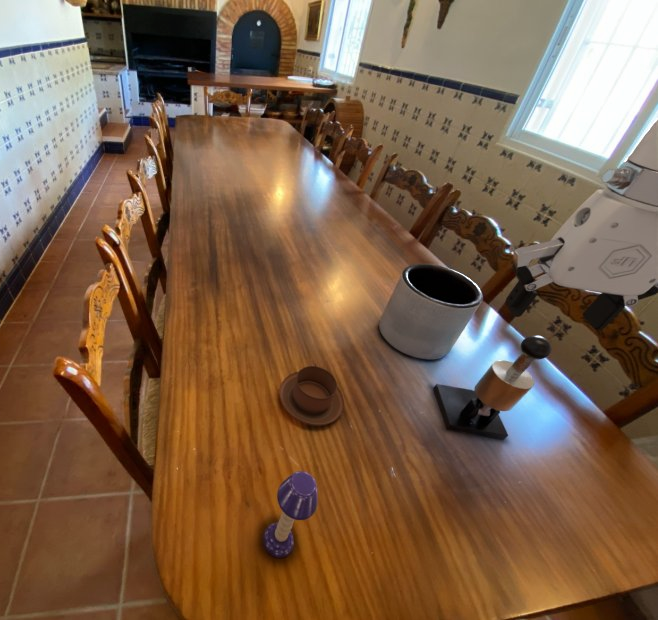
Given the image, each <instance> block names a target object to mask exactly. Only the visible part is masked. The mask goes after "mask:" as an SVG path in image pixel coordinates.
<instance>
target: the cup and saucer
mask: <svg viewBox="0 0 658 620" xmlns="http://www.w3.org/2000/svg"><path fill="white" fill-rule="evenodd" d="M344 398H345V397H344V395H343V393H342V390H341V389H340V388H339V387H338V382H337V379H336V378H335V376H334V375H333V374H332V373H331V372H330V371H329V370H327V369H325V368H324V367H320V366H319V363H318V362H316V363H314V365H308V366H305V367H302V368H301V369H300V370H299V371H296V372H292V373H290V374H289V375H287V376H286V377H285V378H284V379H283V380H282V382H281V384H280V386H279V399H280V403H281V405H282V407H283V408H284V410H285V411H286V412H287V413H288V414H289V415H290V416H291V417H292V418H293V419H295V420H297V421H298V422H300V423H303V424H306V425H310V426H315V427H321V426H322V427H323V426H327V425H330V424H332V423H334V422H335V421H337V420H338V419H339V418H340V417H341V416H342V414H343V412H344V409H345V399H344Z"/></svg>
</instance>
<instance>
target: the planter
mask: <svg viewBox="0 0 658 620" xmlns="http://www.w3.org/2000/svg"><path fill="white" fill-rule="evenodd" d="M483 300H484V295H483V292H482V290H481V288H480V287H479V285H477V283H475V282H474V281H473V280H472V279H470V278H469V277H467V276H466V275H464V274H463V273H460V272H459V271H456V270H454V269H452V268H449V267H445V266H443V265H438V264H434V263H413V264H410V265H408V266H406V267H404V268H403V269H402V271H401V273H400V276H399V278H398V280H397V282H396V285H395V286H394V289H393V291H392V293H391V296H390V298H389V300H388V302H387V303H386V306H385V308H384V310H383V312H382V314H381V316H380V319H379V323H378V328H379V332H380V333H381V335H382V336H383V338H384V339H385V341H386V342H387V343H388V344H389V345H390V346H392V347H393V348H394V349H396V350H398V351H399V352H401V353H402V354H405V355H407V356H410V357H413V358H416V359H420V360H421V359H422V360H437V359H442V358H444V357H445V356H446V355H448V354H449V353H450V352H451V350H452V349H453V348H454V346H455V344H456V343H457V341H458V340H459V338H460V337H461V335H462V333H463V332H464V330H465V328H466V327H467V326H468V324H469V322H470V321H471V320H472V318H473V316H474V315H475V313H476V312H477V310H478V309H479V307H480V306H481V304H482V302H483Z"/></svg>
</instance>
